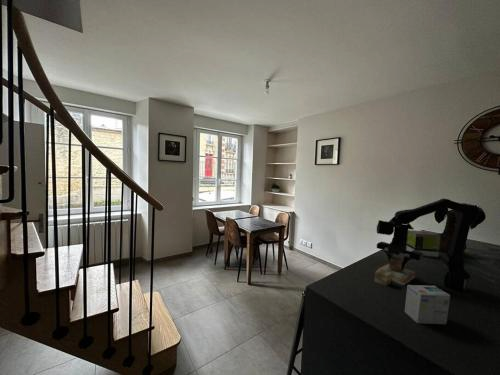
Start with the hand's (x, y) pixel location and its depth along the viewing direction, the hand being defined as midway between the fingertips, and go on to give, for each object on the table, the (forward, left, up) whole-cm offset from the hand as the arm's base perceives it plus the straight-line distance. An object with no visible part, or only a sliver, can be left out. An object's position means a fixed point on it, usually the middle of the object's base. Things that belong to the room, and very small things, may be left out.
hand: (396, 266), depth 110 cm
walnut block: (0, 0, -1) cm, 1 cm away
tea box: (+4, -55, -5) cm, 55 cm away
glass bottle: (-5, -78, -5) cm, 78 cm away
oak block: (+1, +13, -5) cm, 14 cm away
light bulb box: (-19, +28, -5) cm, 34 cm away
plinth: (0, 0, -5) cm, 5 cm away
